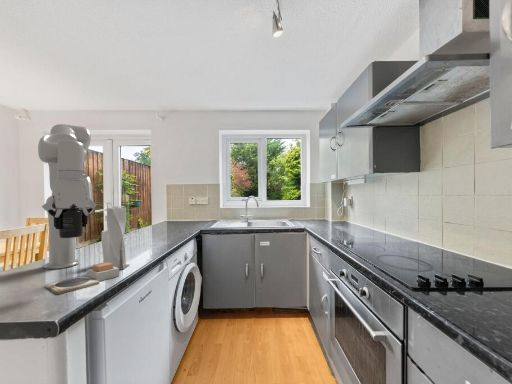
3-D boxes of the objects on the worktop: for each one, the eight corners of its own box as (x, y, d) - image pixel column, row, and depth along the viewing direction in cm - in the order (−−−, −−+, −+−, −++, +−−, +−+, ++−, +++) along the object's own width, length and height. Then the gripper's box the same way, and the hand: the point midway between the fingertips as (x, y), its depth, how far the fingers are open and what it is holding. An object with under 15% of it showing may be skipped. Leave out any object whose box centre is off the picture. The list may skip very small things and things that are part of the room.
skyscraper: (101, 270, 109) (101, 202, 109) (110, 265, 117) (110, 202, 117) (123, 269, 110) (122, 202, 110) (130, 264, 118) (130, 201, 118)
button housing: (87, 277, 99) (87, 269, 99) (109, 272, 106) (109, 265, 106) (96, 281, 95) (96, 273, 95) (119, 276, 101) (119, 268, 101)
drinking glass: (111, 265, 117) (111, 231, 117) (98, 264, 118) (97, 231, 118) (121, 261, 123) (121, 229, 124) (109, 261, 125) (109, 229, 125)
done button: (93, 270, 100) (93, 264, 100) (106, 267, 104) (106, 261, 104) (99, 272, 97) (99, 266, 97) (113, 269, 101) (113, 263, 101)
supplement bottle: (87, 235, 94) (87, 201, 94) (69, 238, 87) (69, 202, 87) (72, 235, 96) (72, 202, 96) (53, 238, 89) (53, 202, 89)
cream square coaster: (45, 286, 90) (45, 283, 90) (84, 277, 100) (84, 274, 100) (58, 294, 83) (58, 291, 83) (99, 283, 93) (99, 280, 93)
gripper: (93, 178, 101) (93, 224, 101) (35, 175, 87) (36, 230, 87) (102, 177, 97) (102, 226, 96) (43, 174, 83) (43, 231, 82)
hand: (71, 227), depth 91 cm, fingers closed on supplement bottle, 6 cm apart
